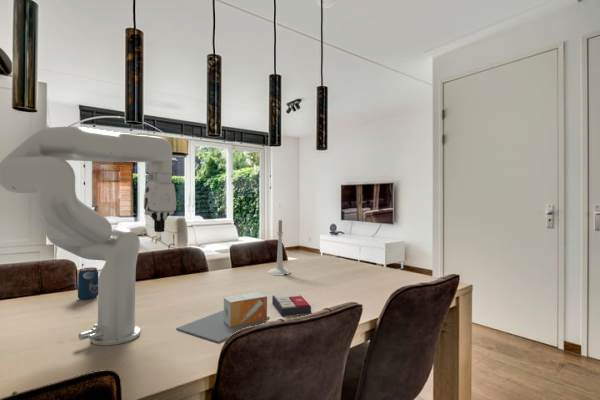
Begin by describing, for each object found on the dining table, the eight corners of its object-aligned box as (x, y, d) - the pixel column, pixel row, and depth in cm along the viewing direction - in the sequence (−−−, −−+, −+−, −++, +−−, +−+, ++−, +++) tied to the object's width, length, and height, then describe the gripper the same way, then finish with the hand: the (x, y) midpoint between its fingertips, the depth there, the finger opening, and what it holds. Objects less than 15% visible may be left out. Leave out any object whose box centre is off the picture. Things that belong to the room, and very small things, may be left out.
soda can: (94, 300, 132) (94, 270, 132) (74, 301, 130) (75, 270, 130) (100, 295, 138) (101, 266, 138) (82, 296, 137) (82, 267, 137)
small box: (230, 302, 104) (267, 295, 112) (223, 297, 110) (259, 291, 117) (230, 328, 105) (267, 320, 112) (223, 321, 110) (258, 314, 117)
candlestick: (282, 269, 196) (282, 218, 196) (295, 273, 186) (296, 219, 186) (263, 272, 187) (264, 219, 188) (276, 276, 178) (277, 220, 178)
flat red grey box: (281, 307, 117) (272, 293, 131) (281, 319, 117) (272, 304, 131) (311, 304, 120) (298, 291, 134) (311, 316, 120) (298, 301, 135)
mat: (218, 343, 94) (218, 341, 94) (176, 329, 104) (176, 328, 104) (269, 318, 115) (269, 316, 115) (230, 308, 124) (230, 307, 124)
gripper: (147, 177, 108) (146, 234, 108) (184, 180, 121) (184, 230, 121) (133, 177, 112) (132, 232, 112) (171, 180, 125) (170, 229, 124)
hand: (159, 231), depth 116 cm, fingers closed
